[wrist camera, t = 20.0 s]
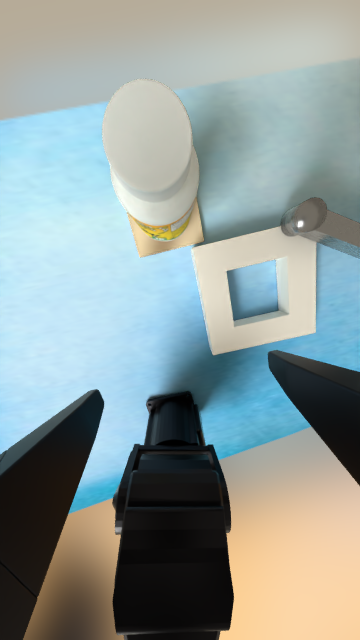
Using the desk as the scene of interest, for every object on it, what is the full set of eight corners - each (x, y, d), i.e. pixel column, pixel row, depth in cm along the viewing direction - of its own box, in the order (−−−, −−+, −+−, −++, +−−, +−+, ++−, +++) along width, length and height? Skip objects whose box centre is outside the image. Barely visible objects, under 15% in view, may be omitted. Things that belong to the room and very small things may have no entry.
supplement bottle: (201, 214, 17) (234, 143, 7) (163, 254, 18) (151, 235, 8) (162, 166, 15) (144, 10, 6) (124, 211, 16) (59, 135, 7)
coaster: (140, 257, 18) (139, 257, 18) (119, 182, 16) (117, 179, 16) (203, 242, 18) (204, 241, 17) (189, 163, 16) (190, 160, 15)
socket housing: (209, 347, 21) (213, 355, 19) (190, 250, 18) (192, 247, 16) (302, 327, 21) (315, 332, 19) (301, 223, 18) (316, 217, 16)
